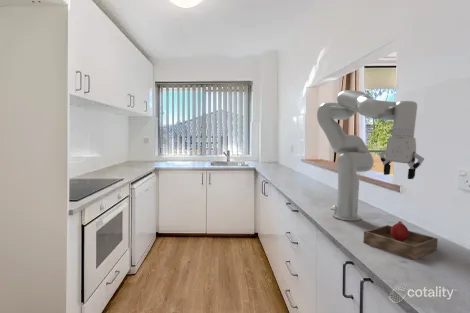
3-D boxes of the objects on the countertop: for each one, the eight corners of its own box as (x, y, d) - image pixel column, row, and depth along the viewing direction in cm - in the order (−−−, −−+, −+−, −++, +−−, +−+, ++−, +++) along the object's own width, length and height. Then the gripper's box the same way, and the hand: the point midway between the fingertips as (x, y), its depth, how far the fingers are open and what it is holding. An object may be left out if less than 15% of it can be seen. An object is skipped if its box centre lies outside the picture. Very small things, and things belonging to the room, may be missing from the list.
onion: (390, 238, 115) (391, 217, 114) (408, 242, 112) (409, 220, 111) (389, 243, 110) (390, 221, 109) (407, 246, 107) (409, 224, 106)
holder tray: (363, 242, 114) (364, 231, 113) (386, 235, 123) (387, 225, 122) (414, 259, 99) (415, 246, 98) (436, 250, 108) (437, 238, 108)
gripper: (376, 131, 125) (372, 173, 127) (421, 134, 111) (415, 181, 113) (387, 132, 129) (383, 172, 131) (431, 134, 115) (426, 180, 117)
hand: (398, 176), depth 122 cm, fingers open, 9 cm apart
